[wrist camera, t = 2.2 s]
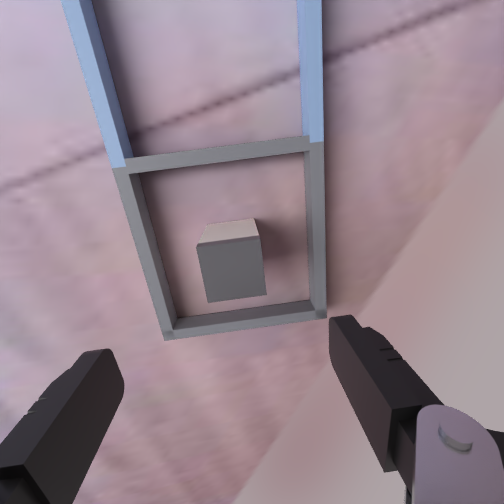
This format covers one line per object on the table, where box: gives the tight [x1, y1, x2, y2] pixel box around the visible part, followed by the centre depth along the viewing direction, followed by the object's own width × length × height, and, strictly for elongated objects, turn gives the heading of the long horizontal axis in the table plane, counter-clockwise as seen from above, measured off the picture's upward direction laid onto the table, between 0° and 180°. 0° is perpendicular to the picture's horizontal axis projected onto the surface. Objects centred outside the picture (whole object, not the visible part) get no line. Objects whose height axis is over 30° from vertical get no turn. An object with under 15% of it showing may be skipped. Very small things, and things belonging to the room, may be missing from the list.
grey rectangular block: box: [196, 218, 267, 303], centre depth 19 cm, size 4×4×6 cm
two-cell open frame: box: [61, 0, 327, 341], centre depth 18 cm, size 15×30×2 cm, turn 7°
